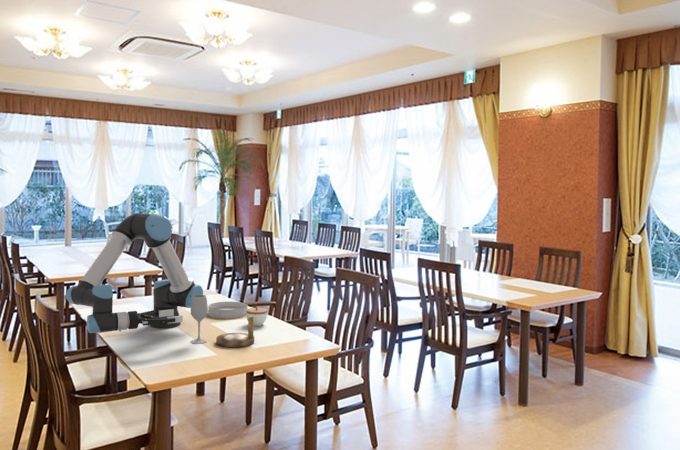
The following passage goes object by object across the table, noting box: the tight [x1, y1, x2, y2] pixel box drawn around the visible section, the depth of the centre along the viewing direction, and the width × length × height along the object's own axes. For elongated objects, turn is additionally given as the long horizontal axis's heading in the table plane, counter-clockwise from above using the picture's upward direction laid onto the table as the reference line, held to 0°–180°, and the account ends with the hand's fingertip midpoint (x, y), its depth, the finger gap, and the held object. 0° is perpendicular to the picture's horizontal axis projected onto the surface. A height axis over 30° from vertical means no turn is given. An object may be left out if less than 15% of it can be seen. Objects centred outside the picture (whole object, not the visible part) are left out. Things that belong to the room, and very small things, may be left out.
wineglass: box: [190, 294, 209, 345], centre depth 241 cm, size 8×8×21 cm
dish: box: [207, 301, 249, 319], centre depth 298 cm, size 22×22×5 cm
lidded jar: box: [246, 306, 268, 327], centre depth 275 cm, size 11×11×9 cm
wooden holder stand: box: [215, 316, 255, 348], centre depth 241 cm, size 17×17×12 cm
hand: (177, 315), depth 236 cm, fingers open, 13 cm apart
